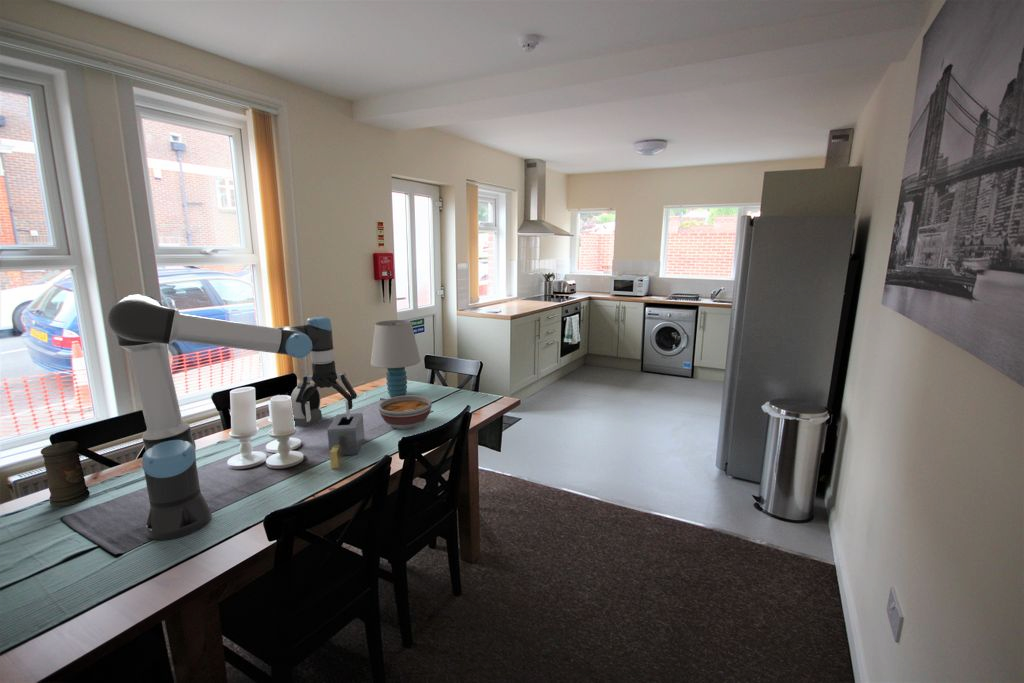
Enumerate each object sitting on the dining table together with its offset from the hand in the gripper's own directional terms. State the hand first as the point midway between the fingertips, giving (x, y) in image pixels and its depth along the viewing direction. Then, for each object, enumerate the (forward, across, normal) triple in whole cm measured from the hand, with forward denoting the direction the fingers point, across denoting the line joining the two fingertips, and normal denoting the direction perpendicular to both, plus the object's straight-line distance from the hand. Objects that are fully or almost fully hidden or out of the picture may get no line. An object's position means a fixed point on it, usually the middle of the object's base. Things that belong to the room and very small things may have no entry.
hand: (328, 419), depth 166 cm
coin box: (+17, -2, -14) cm, 22 cm away
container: (+17, +77, +12) cm, 80 cm away
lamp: (+18, -16, -78) cm, 82 cm away
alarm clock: (+18, +21, -46) cm, 54 cm away
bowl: (+18, -24, -35) cm, 46 cm away
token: (+17, -1, +1) cm, 17 cm away
